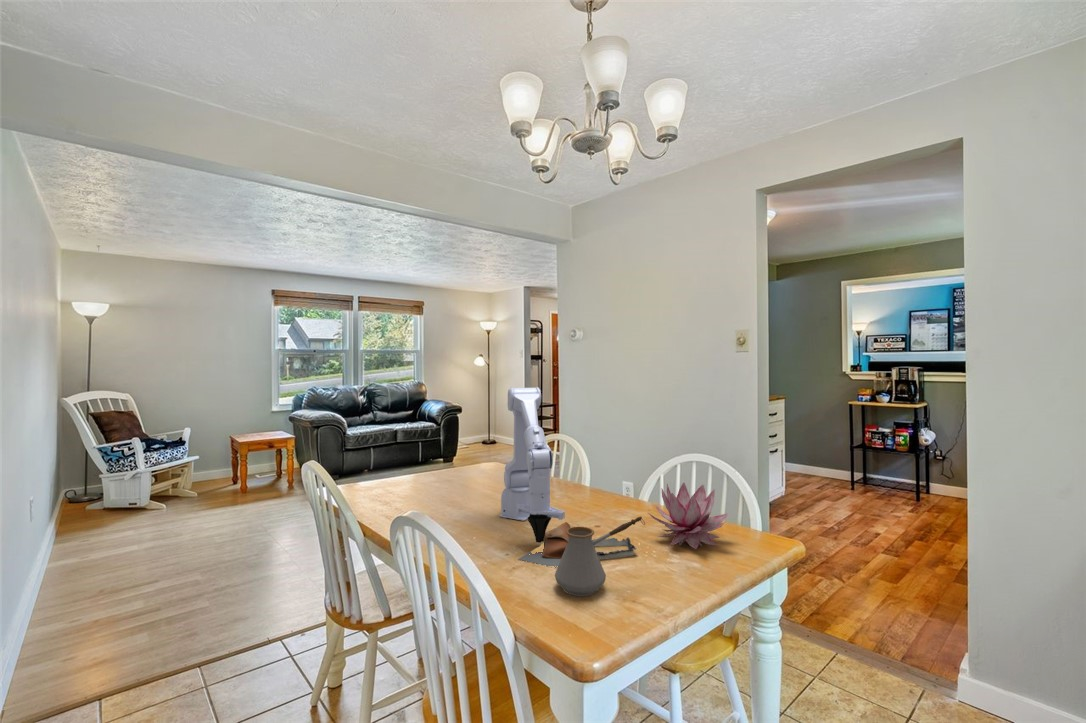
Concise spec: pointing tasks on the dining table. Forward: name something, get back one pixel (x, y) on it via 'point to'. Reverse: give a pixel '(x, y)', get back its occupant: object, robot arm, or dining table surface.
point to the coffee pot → (583, 561)
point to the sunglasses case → (556, 542)
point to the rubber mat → (540, 559)
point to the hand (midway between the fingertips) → (539, 541)
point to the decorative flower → (690, 516)
